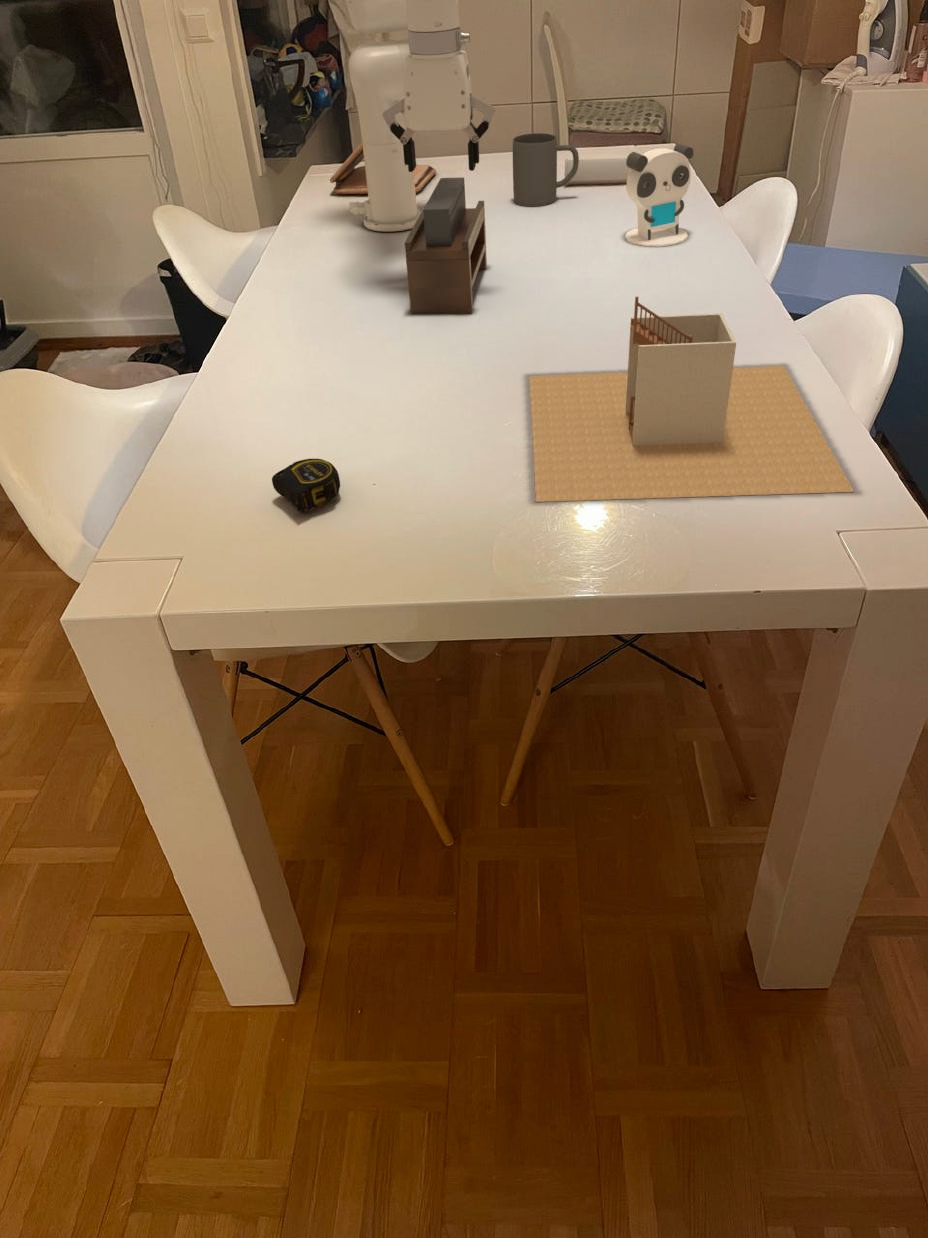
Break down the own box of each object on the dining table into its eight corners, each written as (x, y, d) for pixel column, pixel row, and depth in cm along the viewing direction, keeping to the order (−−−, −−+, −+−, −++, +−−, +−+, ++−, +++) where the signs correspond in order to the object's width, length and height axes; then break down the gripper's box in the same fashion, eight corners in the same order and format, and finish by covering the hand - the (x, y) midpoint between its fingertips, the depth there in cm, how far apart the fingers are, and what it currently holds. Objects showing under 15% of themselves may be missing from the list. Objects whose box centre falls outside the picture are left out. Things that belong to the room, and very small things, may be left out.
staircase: (624, 412, 119) (631, 283, 108) (710, 409, 118) (726, 279, 108) (631, 445, 112) (640, 311, 102) (722, 442, 111) (741, 307, 101)
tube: (680, 156, 201) (565, 159, 203) (683, 154, 196) (565, 157, 198) (678, 183, 203) (564, 186, 205) (681, 181, 198) (564, 184, 200)
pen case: (425, 246, 144) (422, 209, 141) (442, 212, 158) (440, 177, 155) (451, 245, 144) (449, 208, 140) (466, 211, 157) (464, 177, 154)
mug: (513, 207, 192) (512, 144, 184) (513, 195, 199) (511, 134, 192) (579, 204, 191) (580, 140, 184) (576, 192, 198) (577, 130, 191)
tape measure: (273, 497, 108) (267, 469, 105) (325, 477, 110) (320, 449, 108) (299, 522, 103) (293, 493, 101) (352, 501, 106) (347, 472, 104)
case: (354, 172, 222) (345, 97, 212) (439, 171, 218) (433, 95, 208) (328, 196, 207) (316, 116, 197) (418, 196, 203) (411, 115, 193)
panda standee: (642, 250, 167) (647, 160, 157) (611, 234, 175) (615, 147, 165) (699, 239, 170) (708, 150, 160) (666, 223, 178) (673, 138, 169)
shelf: (411, 313, 150) (404, 242, 143) (432, 267, 166) (426, 201, 159) (472, 313, 148) (468, 241, 141) (487, 266, 165) (484, 200, 158)
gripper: (495, 36, 136) (499, 161, 147) (381, 40, 139) (393, 163, 150) (490, 45, 131) (494, 174, 142) (371, 49, 133) (384, 176, 144)
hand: (442, 168), depth 146 cm, fingers open, 9 cm apart
